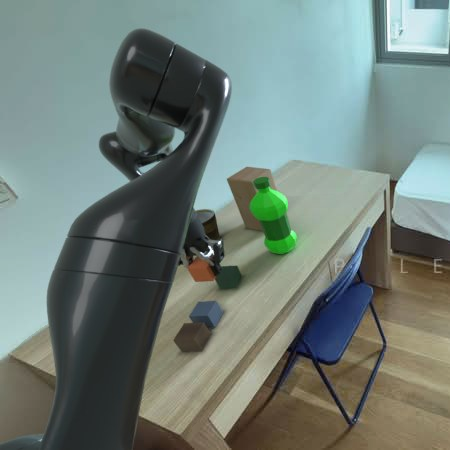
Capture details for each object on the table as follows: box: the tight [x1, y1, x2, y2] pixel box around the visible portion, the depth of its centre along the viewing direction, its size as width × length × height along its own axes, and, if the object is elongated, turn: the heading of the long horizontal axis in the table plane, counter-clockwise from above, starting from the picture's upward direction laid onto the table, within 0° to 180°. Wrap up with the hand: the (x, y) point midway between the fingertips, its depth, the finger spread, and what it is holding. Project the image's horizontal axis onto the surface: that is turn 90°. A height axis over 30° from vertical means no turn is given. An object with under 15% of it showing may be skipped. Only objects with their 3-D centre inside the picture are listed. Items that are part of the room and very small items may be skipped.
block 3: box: [172, 322, 212, 353], centre depth 71 cm, size 5×5×5 cm
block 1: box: [186, 256, 217, 283], centre depth 77 cm, size 5×5×5 cm
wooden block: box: [226, 166, 278, 232], centre depth 108 cm, size 10×10×20 cm
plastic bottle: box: [250, 177, 298, 255], centre depth 93 cm, size 10×10×25 cm
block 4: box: [214, 265, 243, 290], centre depth 87 cm, size 5×5×5 cm
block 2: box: [188, 300, 224, 329], centre depth 77 cm, size 5×5×5 cm
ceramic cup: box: [195, 208, 221, 247], centre depth 102 cm, size 13×10×10 cm
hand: (208, 274), depth 78 cm, fingers closed on block 1, 4 cm apart
